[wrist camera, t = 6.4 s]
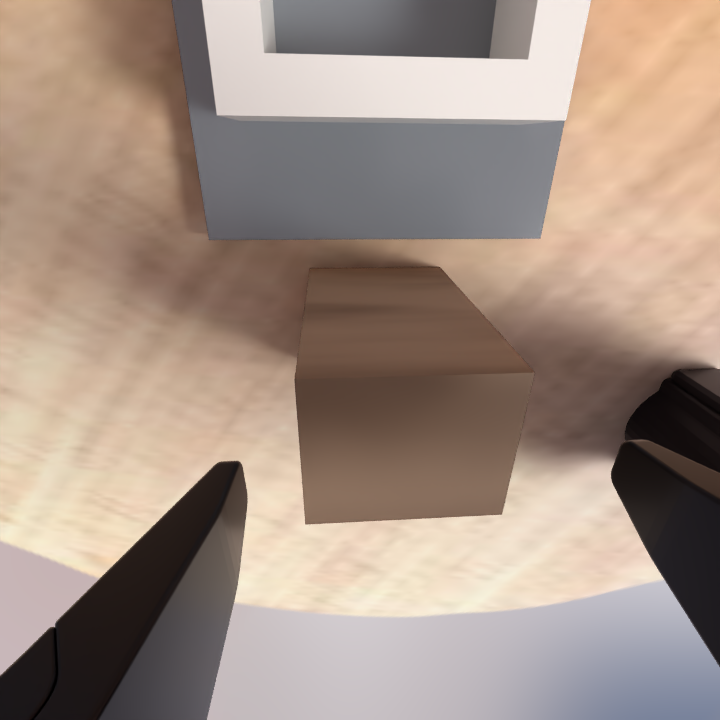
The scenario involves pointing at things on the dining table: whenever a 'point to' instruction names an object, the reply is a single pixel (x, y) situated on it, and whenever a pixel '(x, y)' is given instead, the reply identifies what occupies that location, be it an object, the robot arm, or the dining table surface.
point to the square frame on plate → (377, 114)
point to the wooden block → (403, 398)
